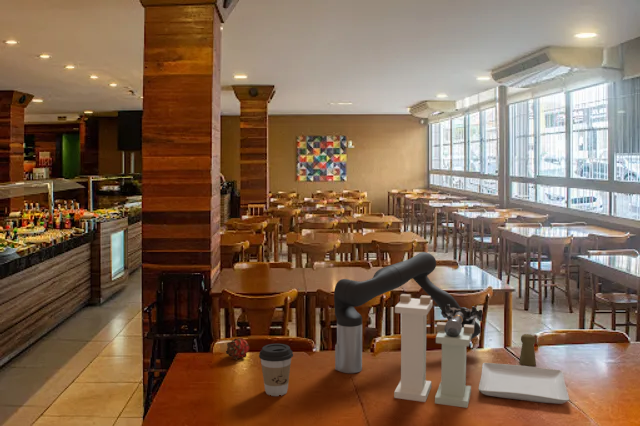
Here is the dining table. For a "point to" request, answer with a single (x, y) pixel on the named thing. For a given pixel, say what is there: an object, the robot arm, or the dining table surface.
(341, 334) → the robot arm
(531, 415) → the dining table surface
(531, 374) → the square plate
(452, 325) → the grey bulb-ended bar
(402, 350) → the tall stand
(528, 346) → the olive pepper mill
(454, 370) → the low stand
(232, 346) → the dragon fruit
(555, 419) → the dining table surface
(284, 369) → the coffee cup
